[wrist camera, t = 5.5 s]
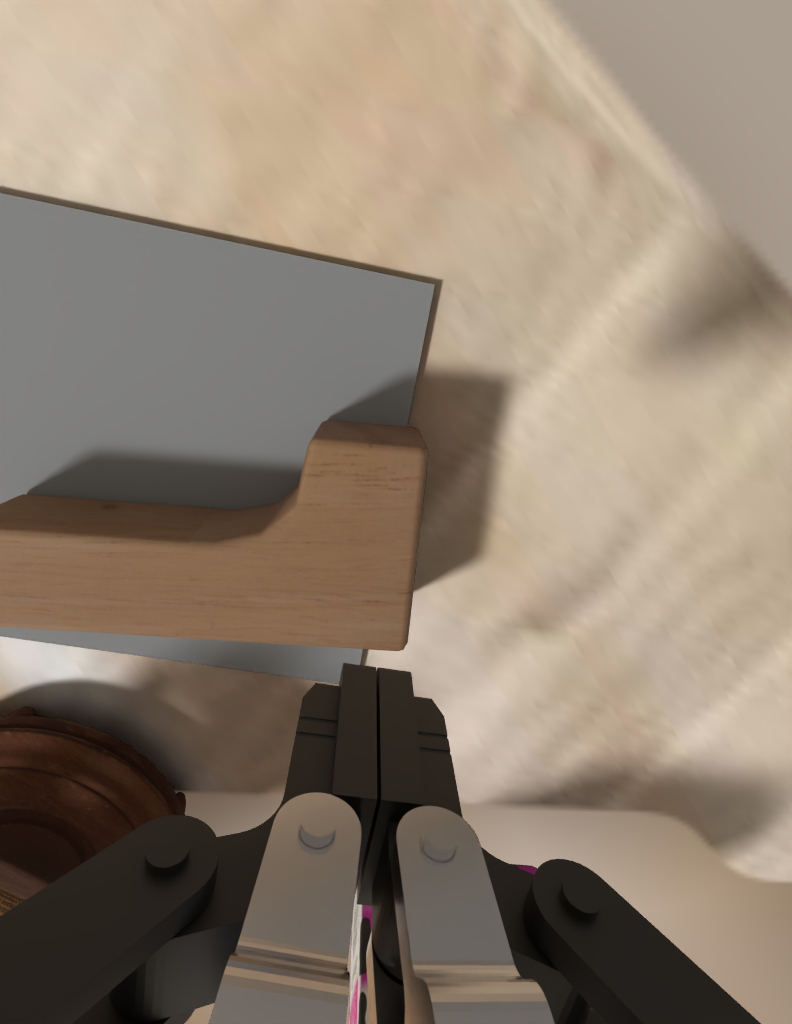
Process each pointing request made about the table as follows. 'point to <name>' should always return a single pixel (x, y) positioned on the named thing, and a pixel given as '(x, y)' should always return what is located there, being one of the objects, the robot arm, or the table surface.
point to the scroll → (68, 799)
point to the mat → (186, 380)
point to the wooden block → (233, 555)
